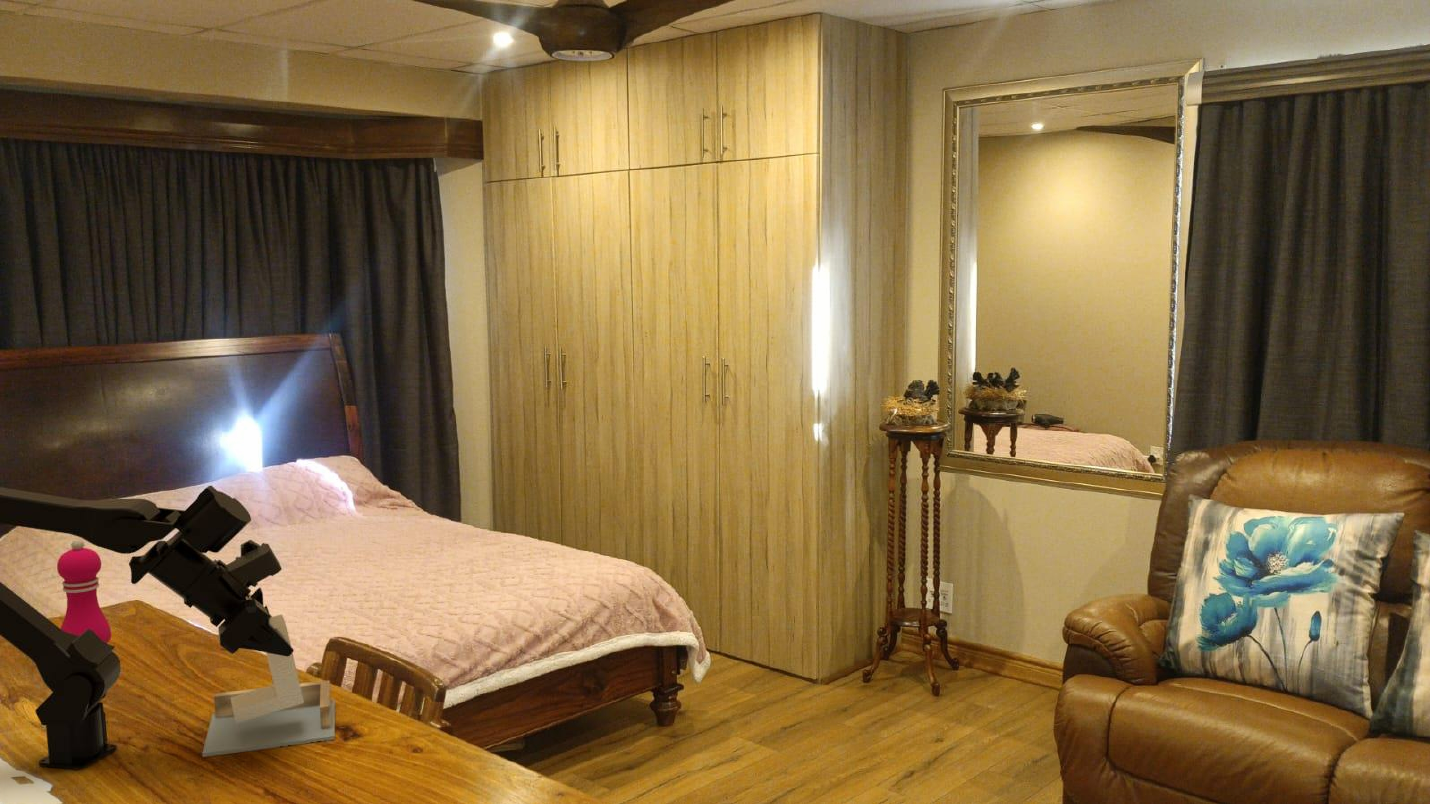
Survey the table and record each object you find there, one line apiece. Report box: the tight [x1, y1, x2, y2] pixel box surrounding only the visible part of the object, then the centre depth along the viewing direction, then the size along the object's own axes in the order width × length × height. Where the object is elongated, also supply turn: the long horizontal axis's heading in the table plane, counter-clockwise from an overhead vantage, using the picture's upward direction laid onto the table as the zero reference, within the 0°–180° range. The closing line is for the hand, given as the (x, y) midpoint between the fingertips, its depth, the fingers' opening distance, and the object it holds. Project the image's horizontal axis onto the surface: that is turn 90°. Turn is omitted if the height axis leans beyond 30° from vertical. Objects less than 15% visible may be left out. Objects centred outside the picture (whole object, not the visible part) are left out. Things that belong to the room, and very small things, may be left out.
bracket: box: [231, 614, 304, 724], centre depth 153 cm, size 8×5×11 cm, turn 116°
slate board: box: [201, 699, 336, 758], centre depth 156 cm, size 16×13×1 cm
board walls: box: [213, 680, 332, 729], centre depth 158 cm, size 15×10×4 cm, turn 108°
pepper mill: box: [56, 538, 112, 644], centre depth 181 cm, size 7×7×20 cm
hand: (289, 647), depth 154 cm, fingers closed on bracket, 5 cm apart
